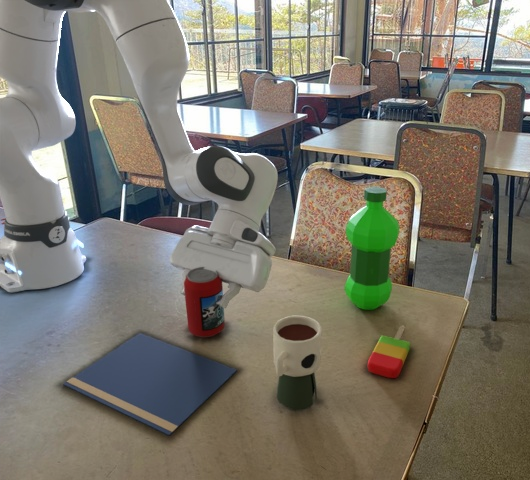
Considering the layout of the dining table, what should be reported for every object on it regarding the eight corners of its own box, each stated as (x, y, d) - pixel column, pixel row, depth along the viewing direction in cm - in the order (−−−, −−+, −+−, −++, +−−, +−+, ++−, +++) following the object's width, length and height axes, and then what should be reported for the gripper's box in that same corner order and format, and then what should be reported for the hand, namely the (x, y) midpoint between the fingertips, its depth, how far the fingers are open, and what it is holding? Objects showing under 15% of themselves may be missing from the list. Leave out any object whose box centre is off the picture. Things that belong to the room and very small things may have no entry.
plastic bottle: (338, 312, 98) (343, 195, 88) (349, 288, 107) (355, 179, 97) (387, 320, 95) (398, 201, 85) (394, 295, 105) (405, 184, 95)
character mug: (299, 430, 69) (300, 356, 63) (257, 412, 72) (255, 340, 66) (332, 385, 78) (335, 316, 72) (294, 371, 80) (294, 304, 75)
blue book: (63, 384, 76) (62, 383, 76) (139, 333, 89) (139, 332, 89) (169, 435, 67) (169, 434, 67) (237, 370, 80) (237, 369, 80)
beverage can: (216, 342, 87) (212, 284, 82) (182, 337, 88) (176, 280, 84) (230, 322, 93) (227, 267, 88) (197, 317, 94) (193, 263, 90)
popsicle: (365, 372, 81) (365, 362, 80) (388, 326, 94) (389, 318, 93) (397, 381, 79) (398, 372, 78) (416, 333, 92) (417, 325, 91)
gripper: (181, 216, 93) (149, 281, 89) (270, 237, 85) (240, 310, 81) (198, 230, 99) (169, 292, 95) (283, 251, 90) (255, 320, 86)
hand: (202, 301), depth 88 cm, fingers closed on beverage can, 7 cm apart
